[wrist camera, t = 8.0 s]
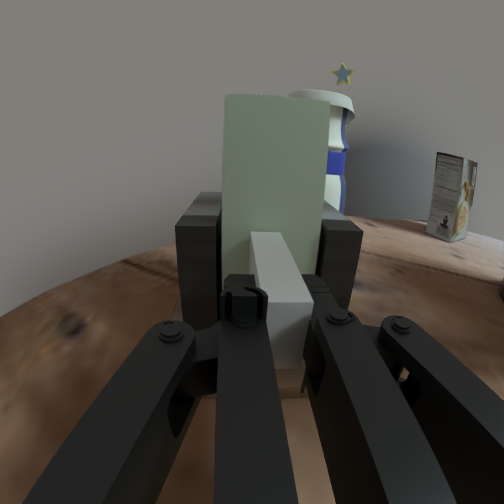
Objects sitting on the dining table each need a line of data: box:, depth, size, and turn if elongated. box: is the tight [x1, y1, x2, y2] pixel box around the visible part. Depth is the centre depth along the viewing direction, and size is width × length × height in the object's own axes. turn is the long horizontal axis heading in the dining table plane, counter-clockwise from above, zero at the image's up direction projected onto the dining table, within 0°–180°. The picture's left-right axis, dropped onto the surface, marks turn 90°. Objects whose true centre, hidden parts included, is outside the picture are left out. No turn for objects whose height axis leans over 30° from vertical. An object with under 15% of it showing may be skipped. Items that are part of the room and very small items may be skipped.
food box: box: [426, 152, 478, 243], centre depth 43 cm, size 9×6×16 cm
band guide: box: [171, 192, 363, 398], centre depth 19 cm, size 15×13×9 cm
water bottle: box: [288, 63, 355, 214], centre depth 31 cm, size 8×9×25 cm
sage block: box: [222, 94, 330, 291], centre depth 18 cm, size 9×5×14 cm, turn 2°
